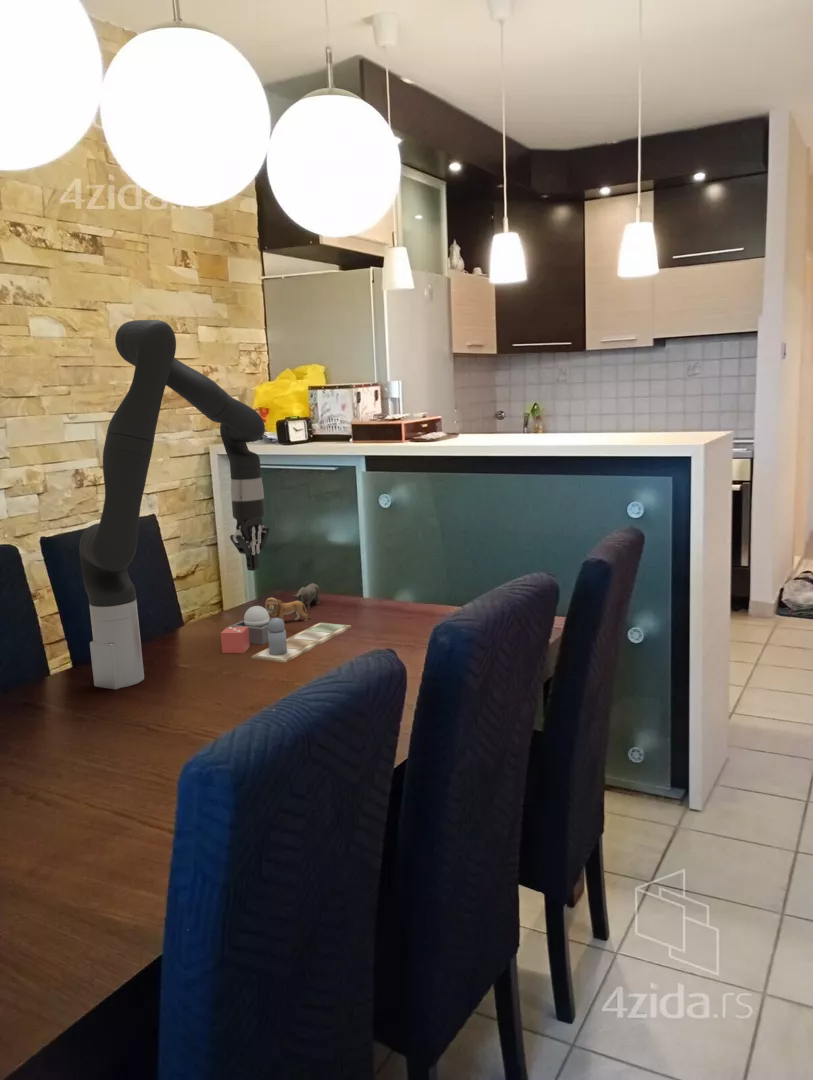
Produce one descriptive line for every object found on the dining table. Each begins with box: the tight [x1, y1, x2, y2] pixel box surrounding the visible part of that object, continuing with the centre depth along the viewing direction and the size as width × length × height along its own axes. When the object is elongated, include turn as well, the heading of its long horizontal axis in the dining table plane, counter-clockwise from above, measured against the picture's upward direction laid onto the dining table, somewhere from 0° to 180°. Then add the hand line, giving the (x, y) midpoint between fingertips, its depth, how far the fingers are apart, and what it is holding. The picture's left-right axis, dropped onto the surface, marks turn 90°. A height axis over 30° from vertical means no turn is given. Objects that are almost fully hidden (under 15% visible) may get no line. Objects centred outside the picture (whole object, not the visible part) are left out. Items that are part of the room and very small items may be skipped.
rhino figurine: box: [291, 582, 321, 610], centre depth 236 cm, size 4×14×6 cm, turn 158°
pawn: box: [267, 617, 287, 655], centre depth 193 cm, size 4×4×8 cm
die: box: [220, 626, 251, 654], centre depth 199 cm, size 5×5×5 cm
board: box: [250, 622, 352, 664], centre depth 203 cm, size 29×9×1 cm, turn 154°
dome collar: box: [229, 617, 286, 645], centre depth 208 cm, size 9×9×4 cm
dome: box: [243, 605, 271, 628], centre depth 208 cm, size 6×6×6 cm
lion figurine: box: [264, 597, 312, 622], centre depth 221 cm, size 12×4×7 cm, turn 118°
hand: (253, 569), depth 206 cm, fingers closed
